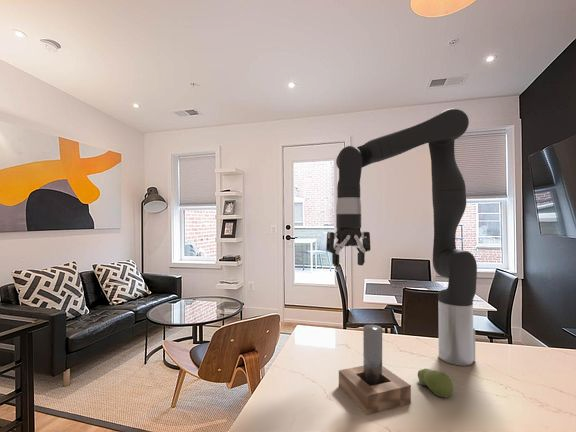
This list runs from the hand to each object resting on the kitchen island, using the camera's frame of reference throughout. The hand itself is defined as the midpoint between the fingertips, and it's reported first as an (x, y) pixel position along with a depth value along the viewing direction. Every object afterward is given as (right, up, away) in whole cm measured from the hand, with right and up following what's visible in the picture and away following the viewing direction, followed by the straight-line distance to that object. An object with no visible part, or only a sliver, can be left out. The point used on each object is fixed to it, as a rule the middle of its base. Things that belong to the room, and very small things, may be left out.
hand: (348, 265), depth 94 cm
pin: (+2, -28, -20) cm, 34 cm away
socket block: (+2, -28, -20) cm, 34 cm away
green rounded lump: (+18, -28, -18) cm, 38 cm away
